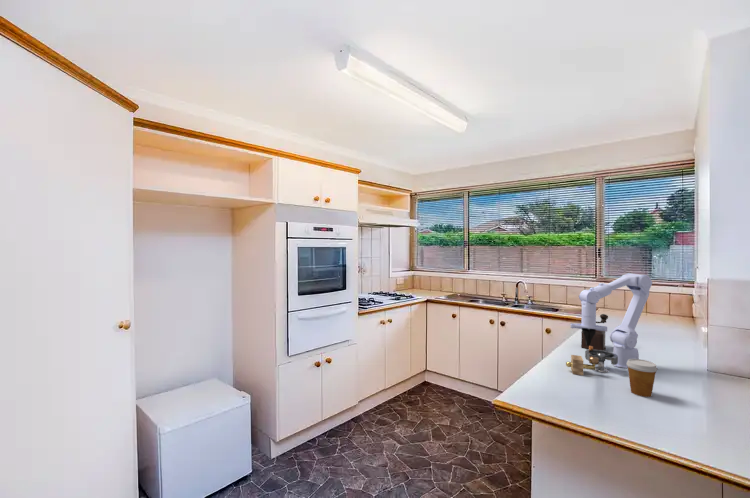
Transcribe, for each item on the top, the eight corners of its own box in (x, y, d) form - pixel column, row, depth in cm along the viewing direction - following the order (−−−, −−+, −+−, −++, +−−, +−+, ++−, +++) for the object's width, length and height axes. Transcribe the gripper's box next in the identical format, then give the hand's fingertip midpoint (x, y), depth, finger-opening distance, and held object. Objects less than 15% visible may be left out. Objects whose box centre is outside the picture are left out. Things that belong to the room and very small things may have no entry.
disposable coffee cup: (652, 391, 136) (653, 360, 135) (660, 401, 127) (661, 368, 127) (623, 386, 140) (623, 357, 139) (628, 396, 131) (629, 364, 131)
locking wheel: (618, 365, 151) (618, 354, 151) (585, 360, 157) (585, 349, 157) (616, 358, 160) (616, 348, 160) (584, 354, 166) (585, 344, 166)
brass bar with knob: (597, 369, 153) (598, 357, 153) (599, 372, 150) (599, 359, 150) (565, 365, 158) (565, 353, 158) (566, 367, 155) (566, 355, 155)
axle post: (607, 368, 159) (607, 359, 159) (610, 373, 154) (610, 363, 154) (592, 366, 162) (592, 357, 161) (594, 371, 156) (594, 361, 156)
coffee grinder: (604, 352, 184) (605, 318, 183) (580, 348, 191) (581, 315, 190) (608, 345, 196) (608, 314, 195) (585, 342, 203) (586, 311, 202)
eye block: (581, 370, 157) (581, 355, 157) (583, 375, 151) (583, 360, 151) (570, 368, 159) (571, 354, 159) (572, 374, 153) (572, 359, 152)
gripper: (605, 315, 162) (604, 344, 163) (570, 312, 168) (569, 340, 168) (608, 318, 156) (607, 348, 156) (571, 315, 162) (571, 344, 162)
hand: (588, 344), depth 162 cm, fingers closed
